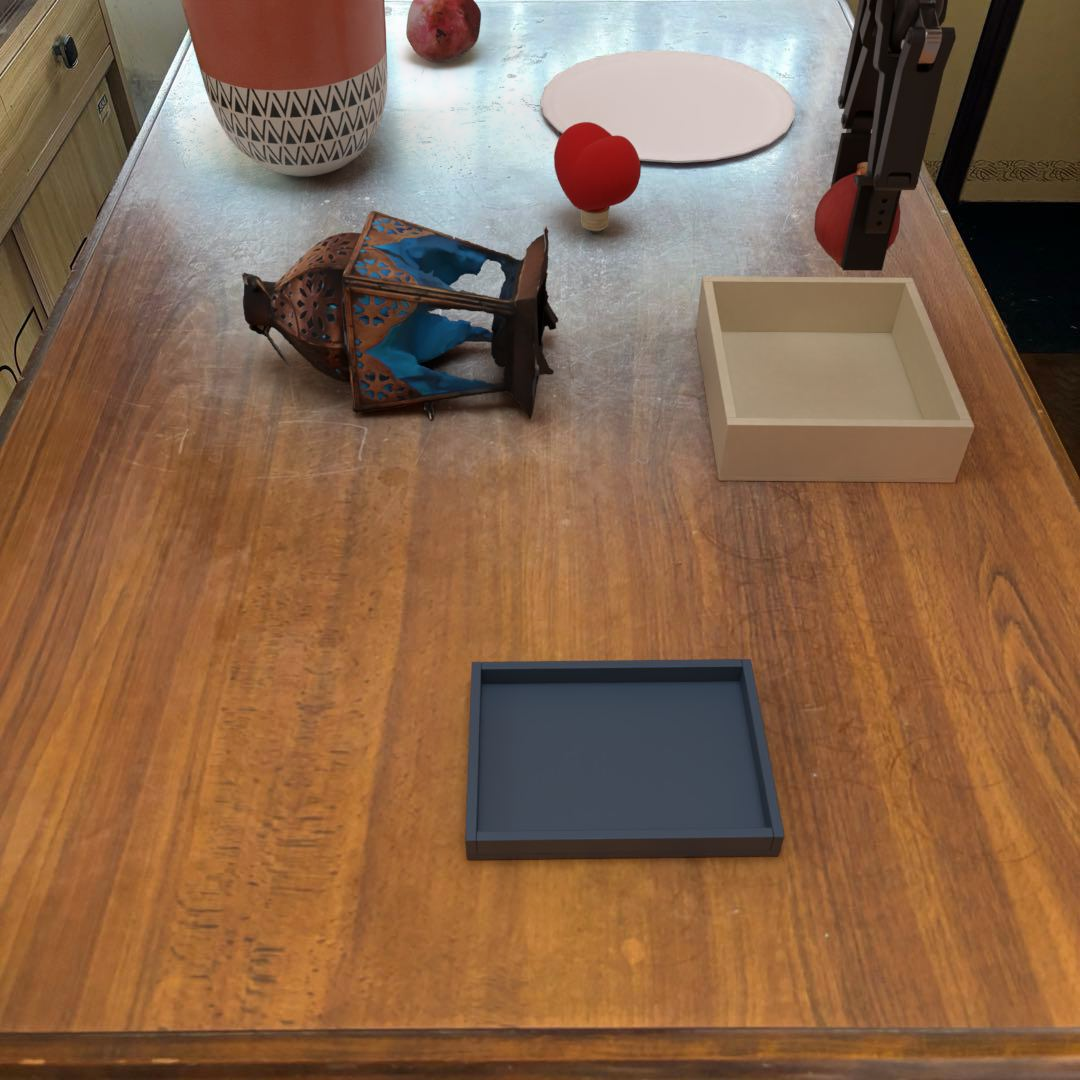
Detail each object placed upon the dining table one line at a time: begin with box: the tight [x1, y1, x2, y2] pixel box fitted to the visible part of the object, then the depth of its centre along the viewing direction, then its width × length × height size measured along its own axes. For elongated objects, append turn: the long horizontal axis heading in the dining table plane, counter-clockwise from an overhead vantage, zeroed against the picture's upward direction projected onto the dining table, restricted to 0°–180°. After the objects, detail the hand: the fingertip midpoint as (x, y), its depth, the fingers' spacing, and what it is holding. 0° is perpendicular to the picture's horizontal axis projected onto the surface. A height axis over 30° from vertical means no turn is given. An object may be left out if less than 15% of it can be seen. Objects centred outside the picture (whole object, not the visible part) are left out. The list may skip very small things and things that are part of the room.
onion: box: [813, 162, 902, 269], centre depth 77 cm, size 6×6×8 cm
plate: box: [539, 49, 796, 164], centre depth 127 cm, size 29×29×1 cm
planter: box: [180, 0, 388, 177], centre depth 110 cm, size 20×20×21 cm
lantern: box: [241, 210, 559, 421], centre depth 87 cm, size 16×16×25 cm
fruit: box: [405, 0, 482, 63], centre depth 134 cm, size 9×10×10 cm
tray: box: [464, 658, 786, 861], centre depth 64 cm, size 17×12×2 cm
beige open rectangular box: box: [695, 275, 975, 484], centre depth 87 cm, size 20×18×5 cm
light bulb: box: [553, 122, 642, 234], centre depth 104 cm, size 9×7×10 cm
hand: (852, 242), depth 79 cm, fingers closed on onion, 6 cm apart
